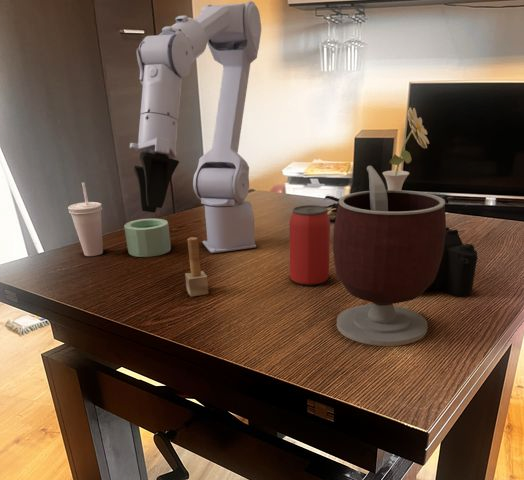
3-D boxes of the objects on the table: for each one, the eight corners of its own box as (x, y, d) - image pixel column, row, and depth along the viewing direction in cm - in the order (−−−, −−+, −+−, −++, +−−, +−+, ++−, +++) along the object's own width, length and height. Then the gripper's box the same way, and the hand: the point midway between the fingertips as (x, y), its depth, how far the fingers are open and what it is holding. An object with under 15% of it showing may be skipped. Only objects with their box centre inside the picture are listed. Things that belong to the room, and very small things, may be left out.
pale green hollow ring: (167, 242, 113) (164, 216, 111) (174, 253, 106) (171, 226, 104) (126, 247, 111) (122, 221, 109) (130, 259, 104) (126, 231, 101)
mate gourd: (451, 343, 68) (475, 182, 59) (347, 353, 67) (354, 190, 57) (404, 298, 82) (418, 162, 72) (317, 306, 80) (319, 168, 71)
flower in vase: (396, 255, 100) (409, 111, 89) (350, 244, 108) (356, 109, 96) (435, 241, 108) (451, 106, 96) (389, 231, 116) (399, 105, 104)
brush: (204, 287, 89) (199, 234, 84) (208, 294, 86) (204, 239, 82) (186, 290, 88) (181, 237, 84) (190, 296, 85) (184, 242, 81)
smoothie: (100, 258, 105) (87, 185, 98) (71, 257, 106) (56, 185, 100) (115, 249, 110) (103, 179, 104) (86, 248, 112) (73, 179, 105)
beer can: (302, 289, 87) (303, 215, 81) (282, 277, 92) (281, 207, 86) (336, 281, 89) (338, 209, 84) (315, 270, 94) (316, 202, 89)
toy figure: (306, 229, 120) (365, 218, 124) (303, 200, 118) (364, 190, 122) (294, 225, 127) (351, 215, 130) (292, 198, 124) (349, 189, 128)
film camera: (372, 276, 91) (375, 224, 87) (417, 267, 94) (423, 216, 90) (431, 307, 78) (438, 248, 74) (481, 295, 82) (491, 238, 78)
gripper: (128, 125, 87) (121, 209, 88) (137, 99, 73) (129, 199, 75) (171, 134, 89) (164, 216, 91) (187, 110, 76) (178, 207, 77)
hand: (151, 209), depth 83 cm, fingers open, 7 cm apart
